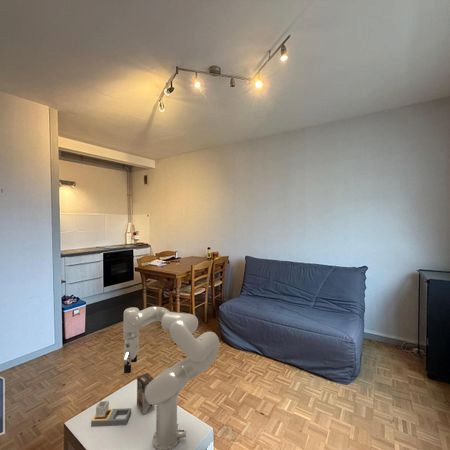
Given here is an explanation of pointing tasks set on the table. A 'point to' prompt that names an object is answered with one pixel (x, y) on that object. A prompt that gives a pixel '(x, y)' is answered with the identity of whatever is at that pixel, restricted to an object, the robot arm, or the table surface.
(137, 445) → the table surface
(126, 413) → the frame with rectangular openings
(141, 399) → the coffee box
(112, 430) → the table surface
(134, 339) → the robot arm
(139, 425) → the table surface
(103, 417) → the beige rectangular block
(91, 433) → the table surface
